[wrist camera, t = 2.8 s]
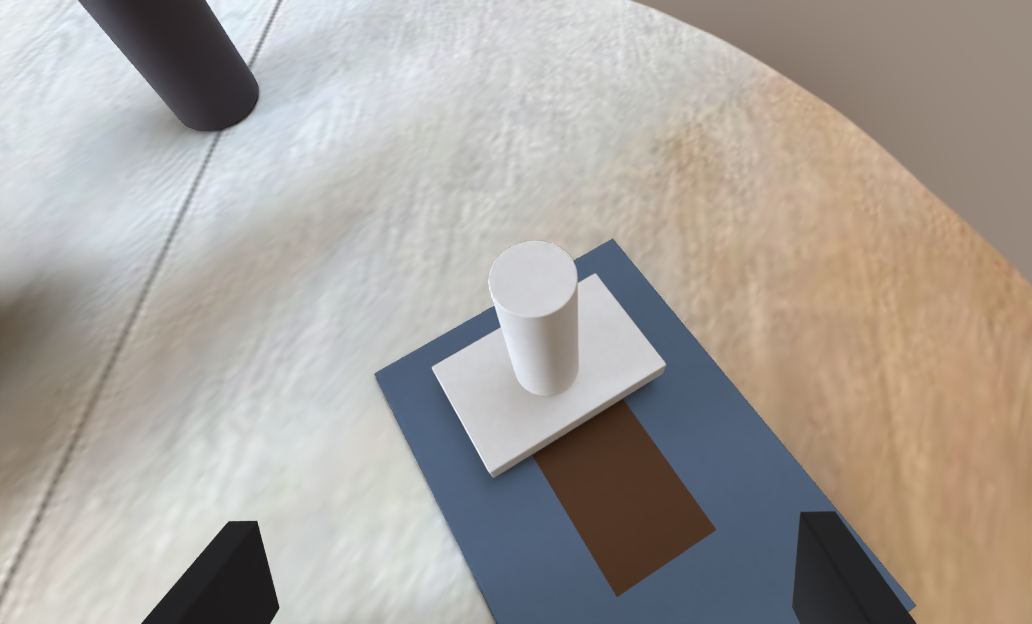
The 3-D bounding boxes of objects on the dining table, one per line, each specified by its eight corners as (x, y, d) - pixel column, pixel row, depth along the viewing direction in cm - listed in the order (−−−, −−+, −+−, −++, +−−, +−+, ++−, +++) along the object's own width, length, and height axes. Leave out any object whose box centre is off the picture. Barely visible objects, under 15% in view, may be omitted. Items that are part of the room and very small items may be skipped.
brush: (441, 382, 33) (373, 281, 22) (594, 293, 34) (600, 158, 23) (496, 482, 30) (449, 422, 19) (660, 381, 31) (702, 272, 21)
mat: (376, 376, 34) (373, 373, 33) (612, 242, 36) (612, 238, 36) (603, 835, 23) (603, 840, 23) (911, 605, 26) (917, 605, 25)
